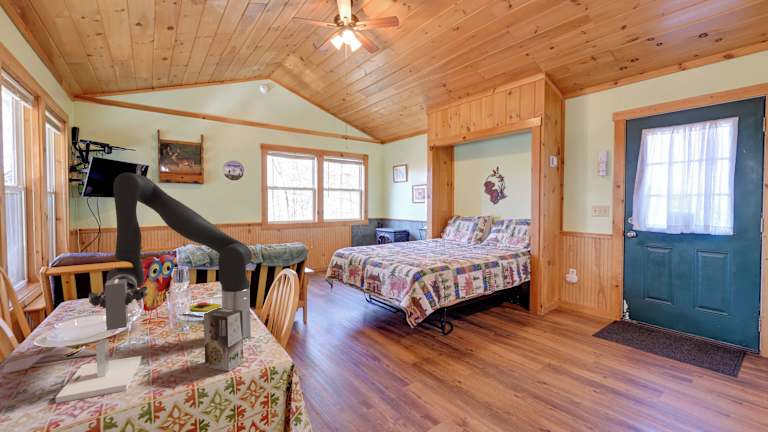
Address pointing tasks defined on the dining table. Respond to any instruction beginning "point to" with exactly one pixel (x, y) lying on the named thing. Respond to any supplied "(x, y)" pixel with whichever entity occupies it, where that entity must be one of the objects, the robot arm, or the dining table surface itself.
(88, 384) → the shaft base
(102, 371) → the post
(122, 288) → the tall gray prism
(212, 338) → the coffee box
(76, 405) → the dining table surface
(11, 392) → the dining table surface
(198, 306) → the emergency button
